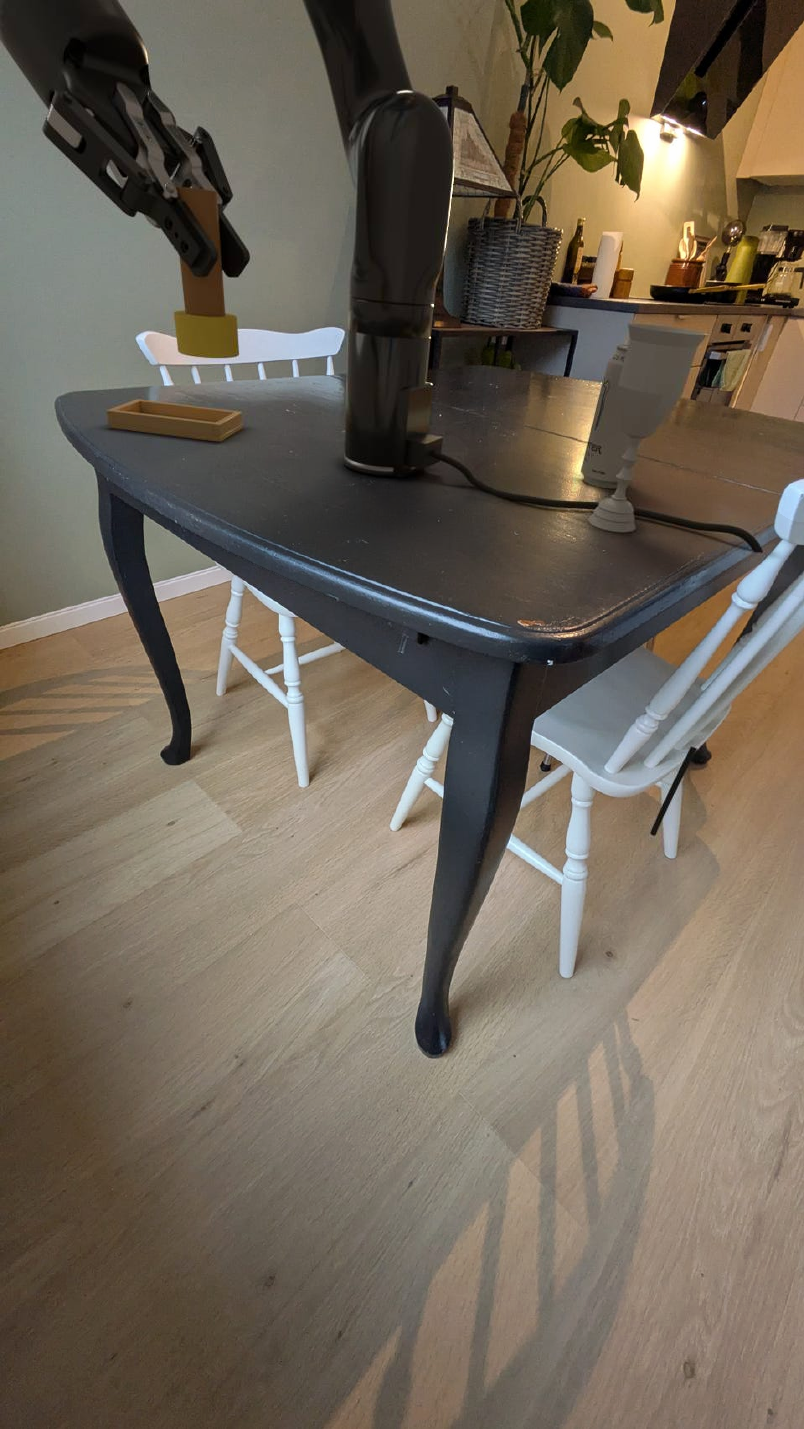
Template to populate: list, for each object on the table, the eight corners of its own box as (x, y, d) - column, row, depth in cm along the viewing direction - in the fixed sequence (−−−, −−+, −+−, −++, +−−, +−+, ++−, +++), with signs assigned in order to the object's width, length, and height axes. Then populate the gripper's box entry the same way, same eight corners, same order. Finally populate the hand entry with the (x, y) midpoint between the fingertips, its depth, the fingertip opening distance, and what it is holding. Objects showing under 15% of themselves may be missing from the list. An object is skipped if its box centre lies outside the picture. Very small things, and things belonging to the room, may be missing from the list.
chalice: (565, 513, 69) (611, 322, 59) (615, 510, 72) (668, 325, 61) (607, 538, 64) (665, 333, 53) (658, 533, 66) (725, 336, 56)
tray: (242, 428, 87) (241, 411, 86) (220, 442, 81) (218, 424, 80) (139, 415, 89) (137, 399, 87) (109, 427, 82) (106, 410, 81)
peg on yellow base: (244, 359, 46) (234, 192, 41) (181, 357, 45) (162, 184, 39) (233, 349, 50) (223, 194, 44) (174, 347, 48) (156, 186, 42)
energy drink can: (576, 473, 83) (607, 342, 74) (621, 478, 83) (659, 347, 74) (582, 486, 78) (616, 348, 69) (630, 492, 78) (671, 354, 69)
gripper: (-38, -108, 32) (180, 214, 36) (159, -13, 43) (313, 230, 46) (-70, 42, 37) (126, 312, 41) (115, 94, 47) (257, 306, 51)
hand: (225, 267), depth 43 cm, fingers closed on peg on yellow base, 3 cm apart
